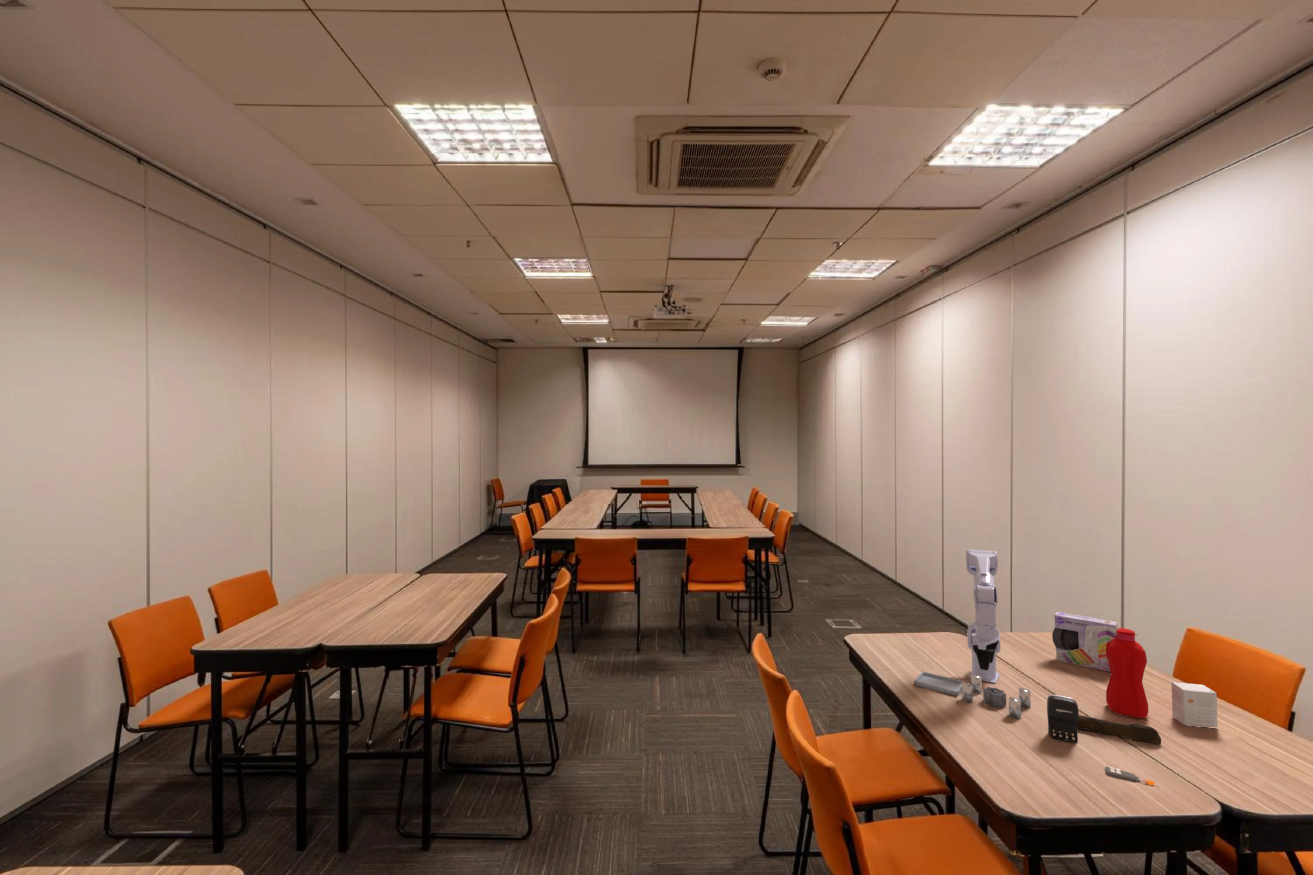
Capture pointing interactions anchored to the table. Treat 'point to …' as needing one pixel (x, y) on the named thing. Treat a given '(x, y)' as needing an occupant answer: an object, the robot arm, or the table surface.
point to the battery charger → (1062, 718)
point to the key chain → (1125, 775)
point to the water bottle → (1126, 675)
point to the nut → (994, 697)
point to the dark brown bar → (1121, 730)
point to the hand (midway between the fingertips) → (986, 665)
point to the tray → (939, 683)
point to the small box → (1194, 705)
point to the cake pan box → (1082, 640)
